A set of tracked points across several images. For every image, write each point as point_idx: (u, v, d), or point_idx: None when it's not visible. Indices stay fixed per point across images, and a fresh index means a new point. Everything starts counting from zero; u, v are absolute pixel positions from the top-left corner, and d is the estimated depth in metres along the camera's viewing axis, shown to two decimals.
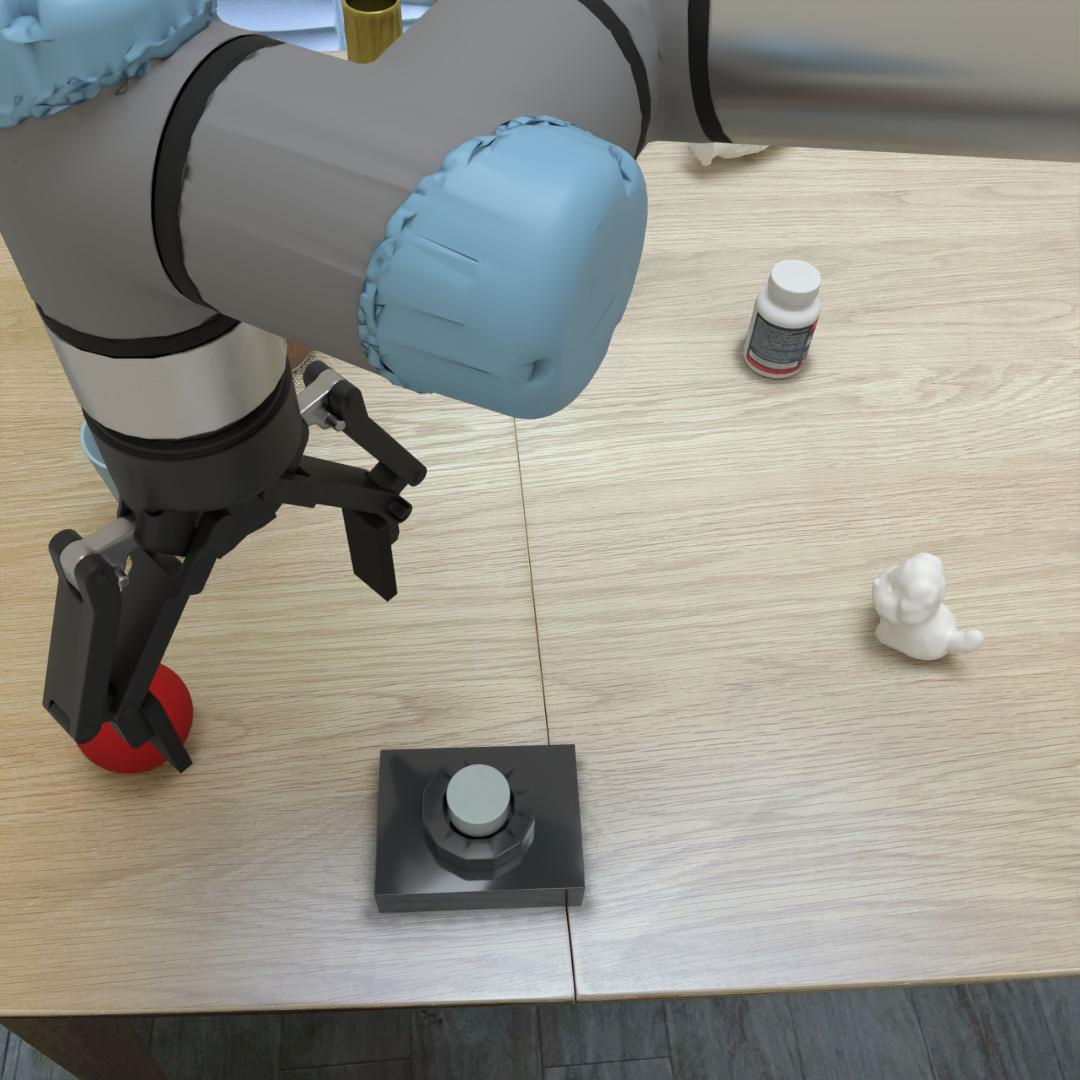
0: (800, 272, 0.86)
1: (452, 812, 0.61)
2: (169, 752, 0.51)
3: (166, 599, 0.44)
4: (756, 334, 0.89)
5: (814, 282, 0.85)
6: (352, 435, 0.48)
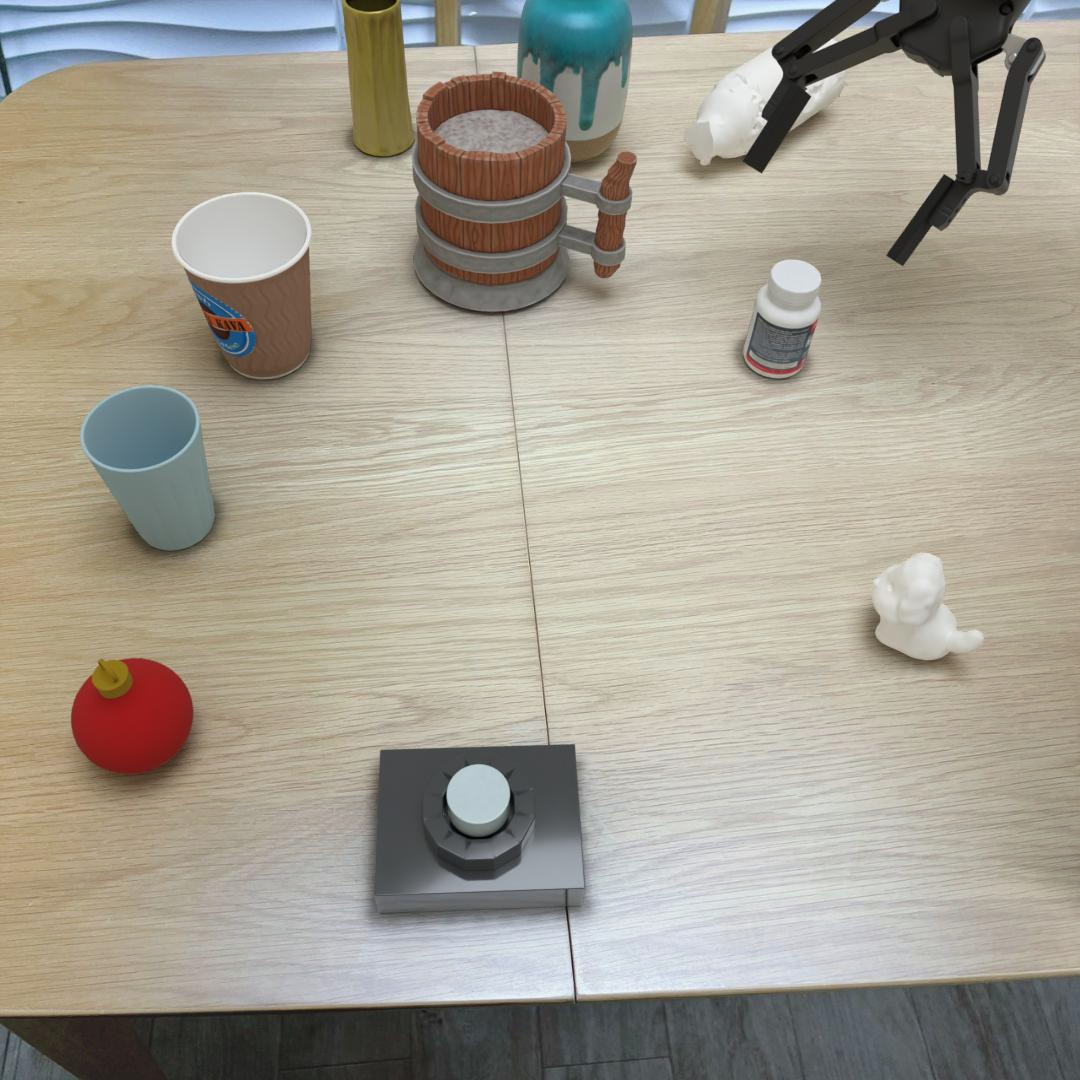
0: (800, 272, 0.86)
1: (452, 812, 0.61)
2: (760, 133, 0.83)
3: (871, 27, 0.78)
4: (756, 334, 0.89)
5: (814, 282, 0.85)
6: (1008, 74, 0.74)
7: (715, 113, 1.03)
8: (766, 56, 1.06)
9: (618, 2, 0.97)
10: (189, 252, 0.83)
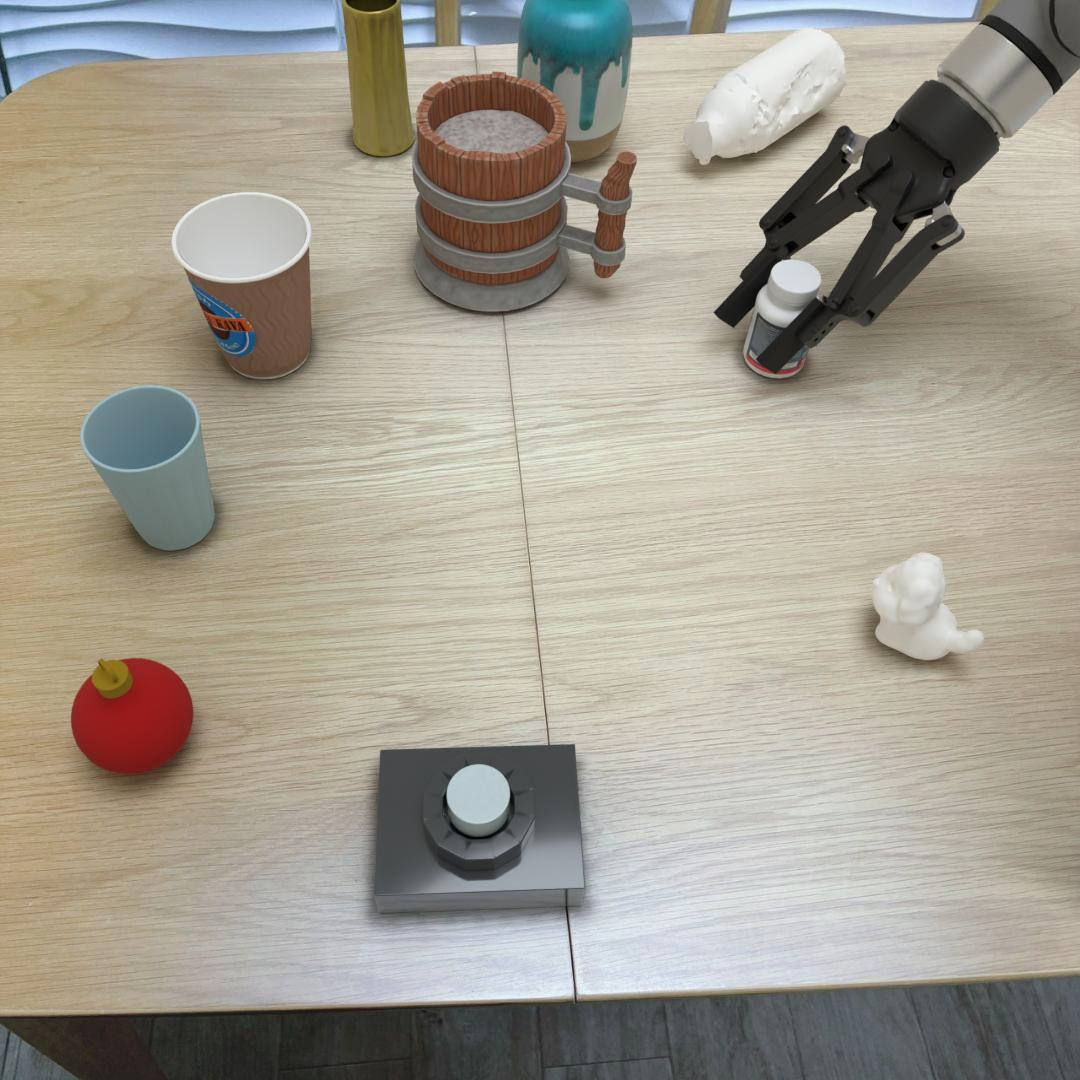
0: (800, 272, 0.86)
1: (452, 812, 0.61)
2: (733, 291, 0.89)
3: (836, 189, 0.85)
4: (756, 334, 0.89)
5: (814, 282, 0.85)
6: (918, 233, 0.80)
7: (715, 113, 1.03)
8: (766, 56, 1.06)
9: (618, 2, 0.97)
10: (189, 252, 0.83)
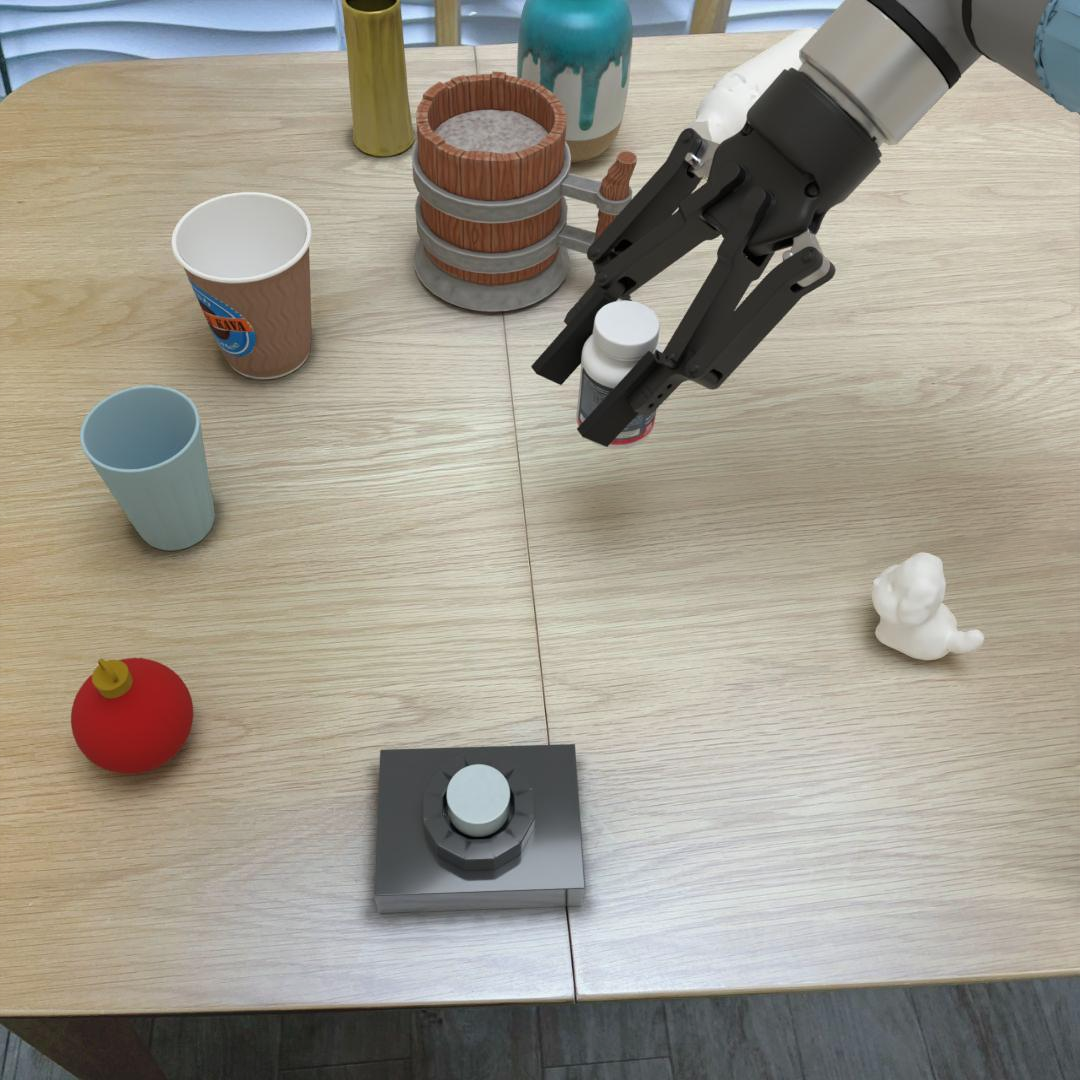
0: (633, 317, 0.66)
1: (452, 812, 0.61)
2: (555, 339, 0.69)
3: (677, 211, 0.65)
4: (584, 395, 0.69)
5: (649, 331, 0.66)
6: (773, 270, 0.61)
7: (714, 112, 1.03)
8: (766, 56, 1.06)
9: (618, 2, 0.97)
10: (189, 252, 0.83)
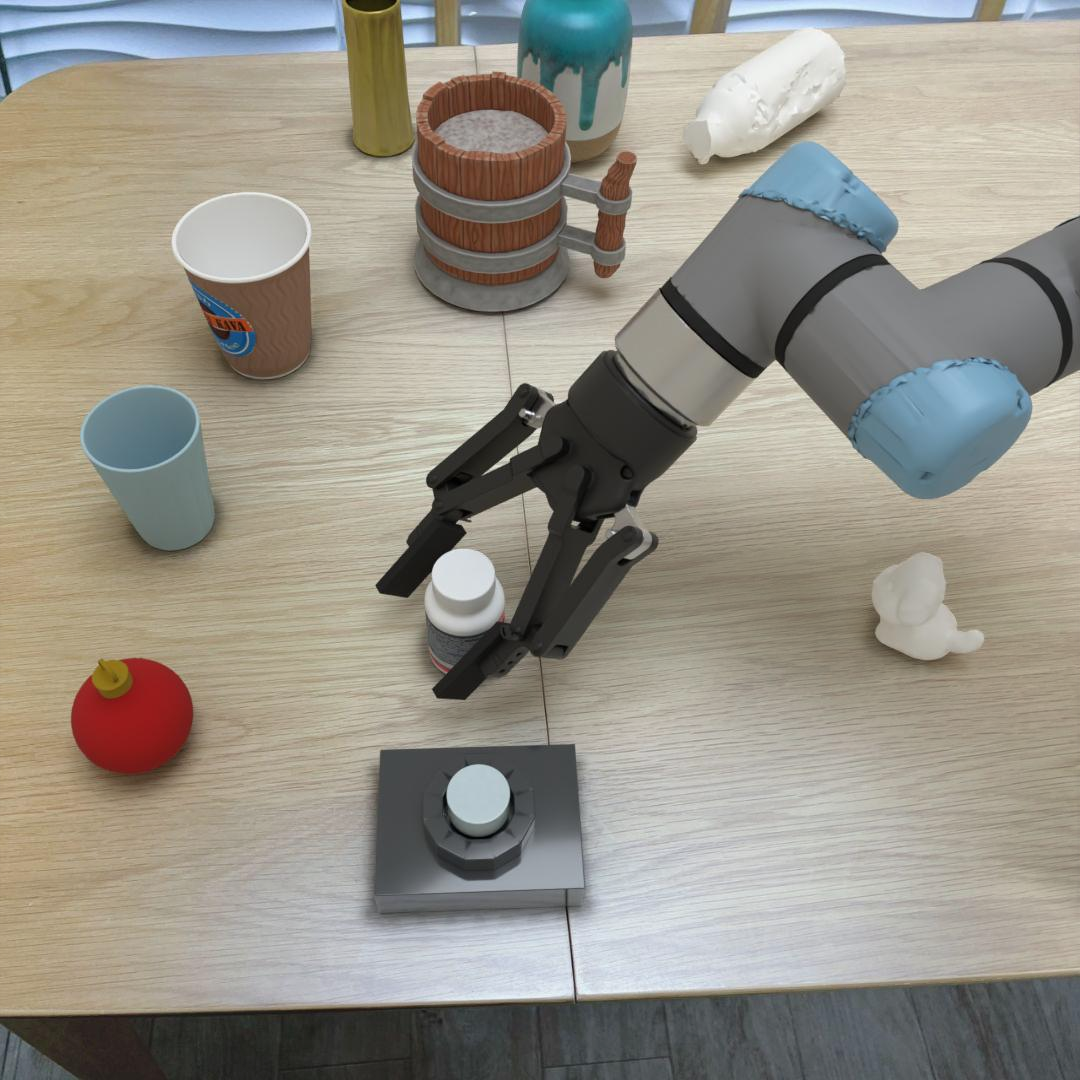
0: (469, 568, 0.68)
1: (452, 812, 0.61)
2: (396, 561, 0.72)
3: (508, 463, 0.68)
4: (429, 633, 0.71)
5: (484, 584, 0.68)
6: (598, 548, 0.63)
7: (714, 112, 1.03)
8: (766, 56, 1.06)
9: (618, 2, 0.97)
10: (189, 252, 0.83)
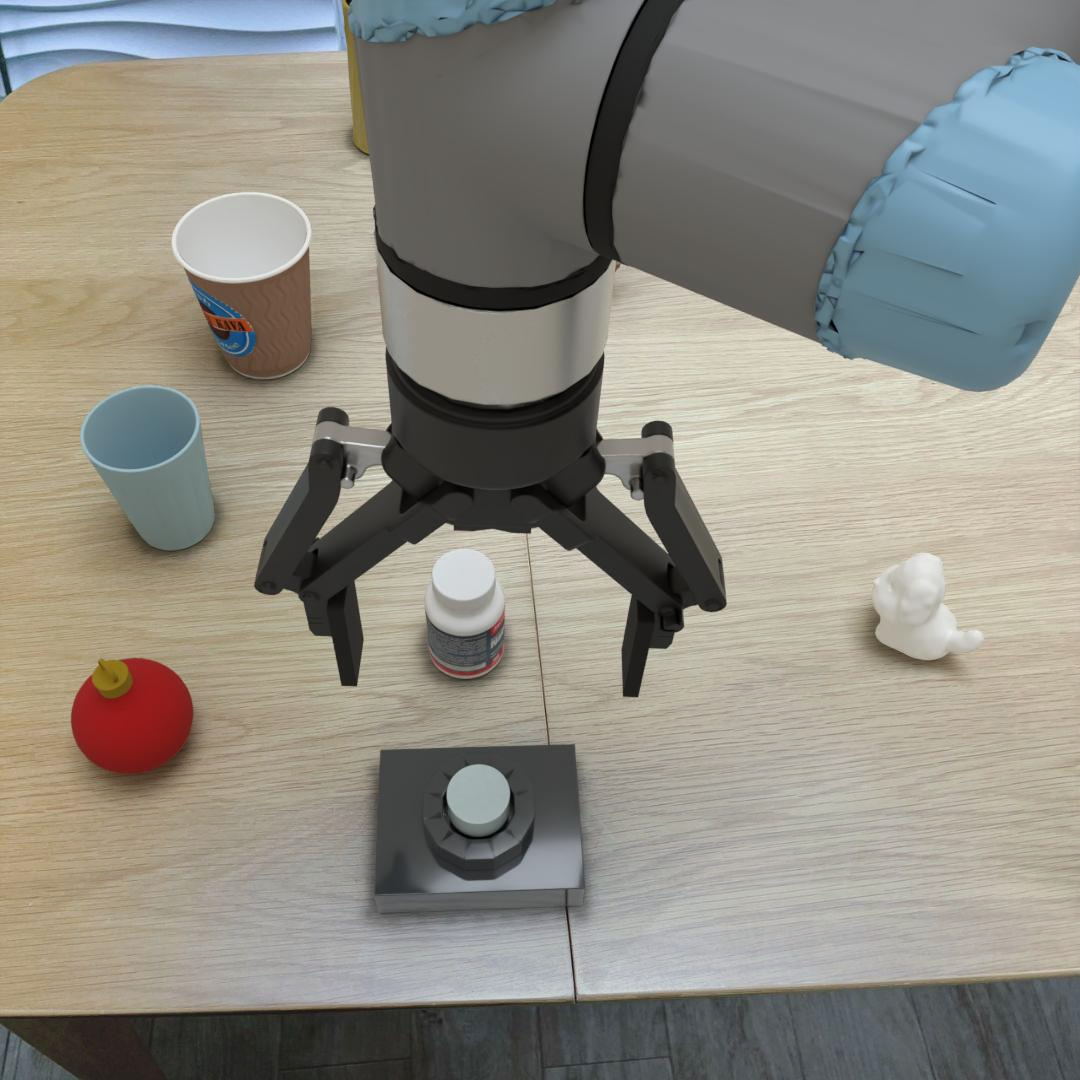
0: (470, 568, 0.68)
1: (452, 812, 0.61)
2: (337, 659, 0.51)
3: (383, 528, 0.43)
4: (429, 633, 0.71)
5: (484, 584, 0.68)
6: (647, 512, 0.42)
7: None
8: None
9: None
10: (189, 252, 0.83)
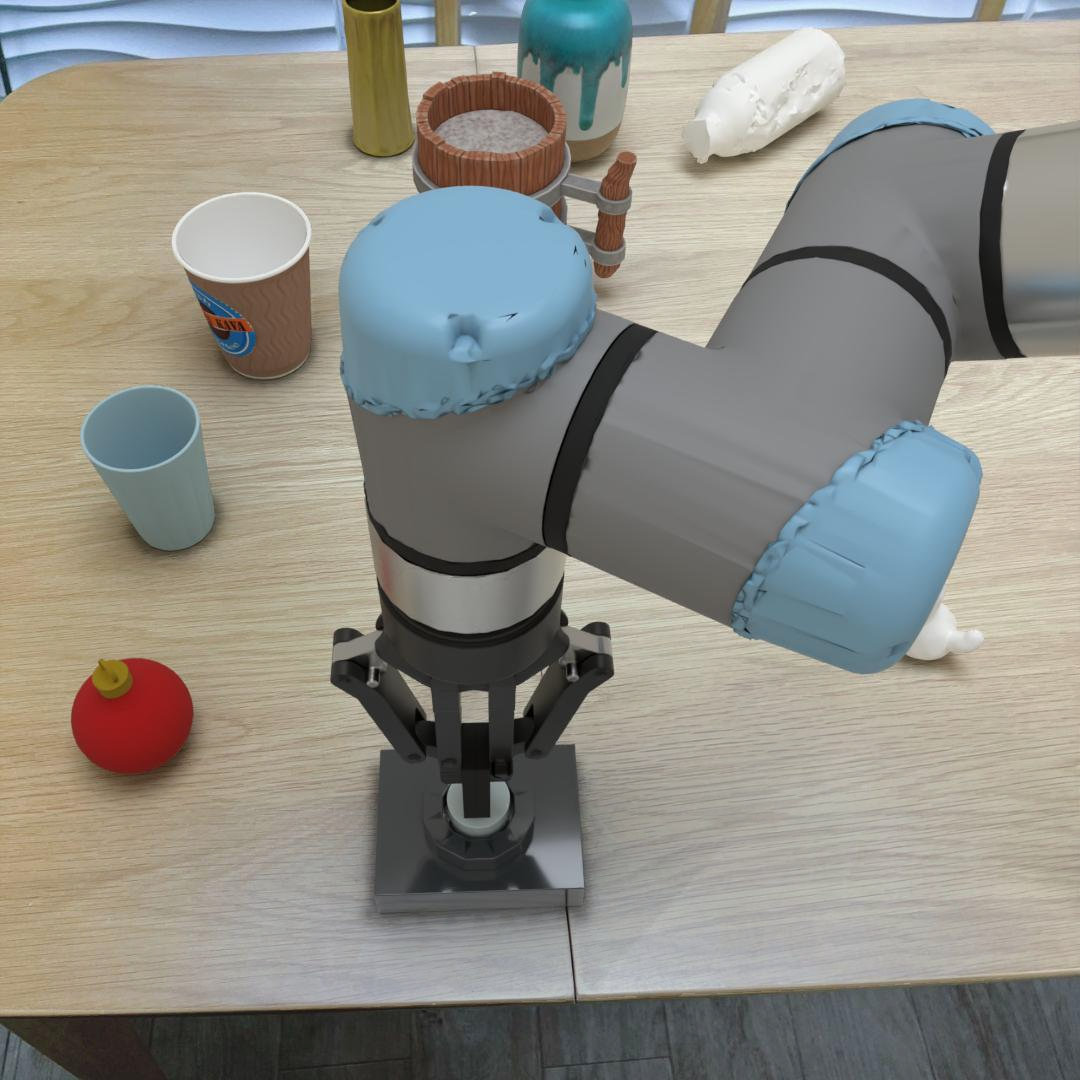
0: None
1: (452, 816, 0.62)
2: (463, 801, 0.60)
3: None
4: None
5: None
6: (566, 690, 0.50)
7: (713, 111, 1.03)
8: (765, 55, 1.06)
9: (618, 2, 0.97)
10: (189, 252, 0.83)
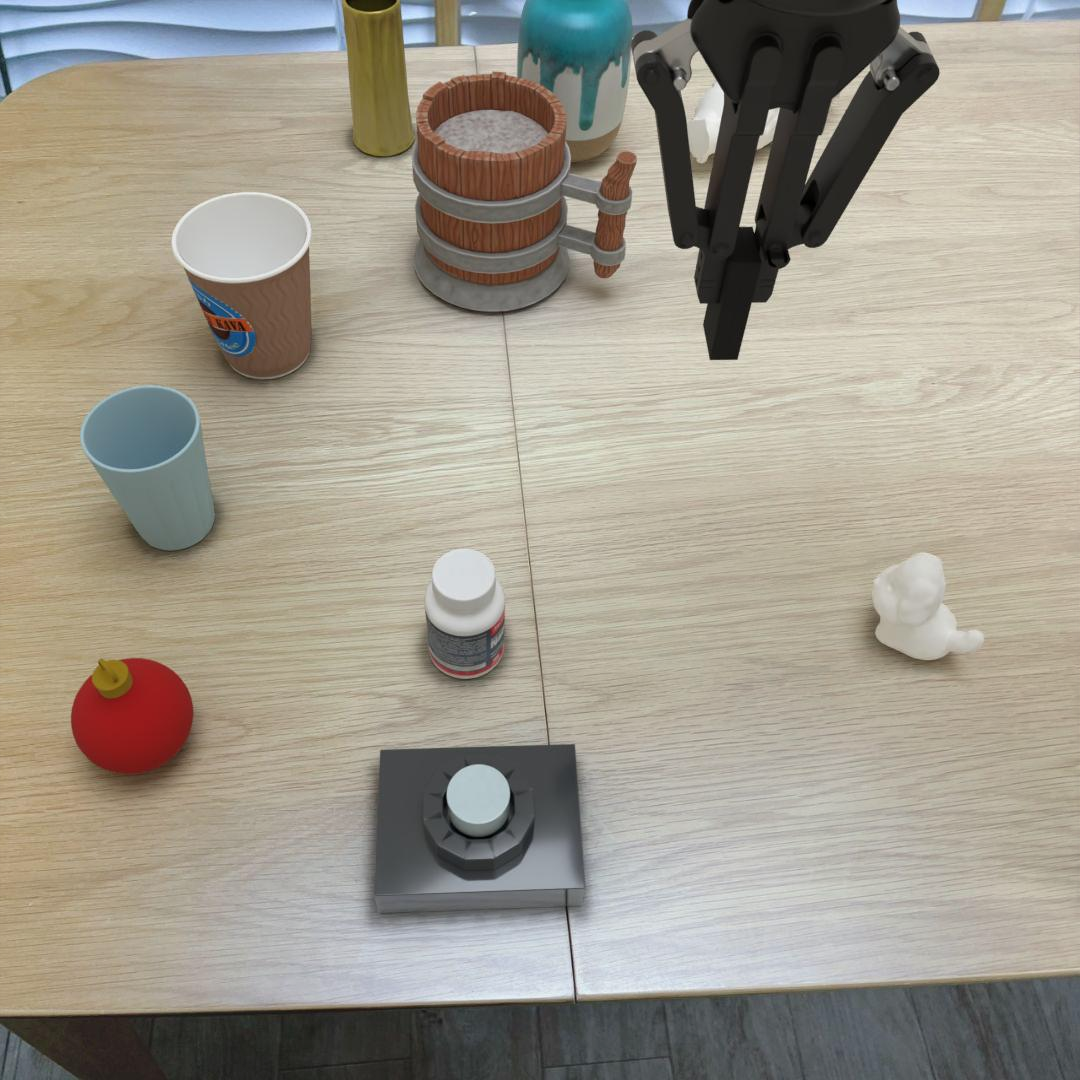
0: (470, 568, 0.68)
1: (452, 812, 0.61)
2: (718, 326, 0.56)
3: (731, 137, 0.47)
4: (429, 633, 0.71)
5: (484, 584, 0.68)
6: (879, 107, 0.46)
7: (712, 111, 1.03)
8: None
9: (618, 2, 0.97)
10: (189, 252, 0.83)
